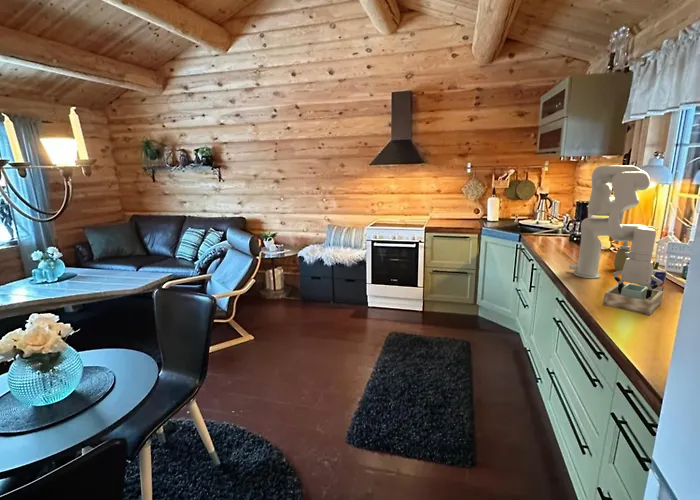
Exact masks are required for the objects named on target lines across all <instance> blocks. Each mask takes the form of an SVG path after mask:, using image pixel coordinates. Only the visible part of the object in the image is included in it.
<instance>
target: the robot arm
mask: <svg viewBox="0 0 700 500" xmlns="http://www.w3.org/2000/svg"><path fill="white" fill-rule="evenodd" d="M650 184H651V178H650V176H649V174H648V173H647V172H646V171H645V170H642V169H640V168H639V167H637V166H635V165H622V164H621V165H616V164H614V165H599V166H596V167H595V169H594V170H593V171H592V174H591V186H592V187H591V191H590V192H591V193H590V197H589V202H588V206H587V211H588V213H589V215H591V216H597V217H586V218H584V219H583V220H581V223H580V233H581V234H580V243H579V244H580V245H579V253H578V259H577V260H578V261H577V265H573V264H569V266H568V268H569V269H570V270H573V275H574V276H576V277H579V278H584V279H599V278H601V274H600V273H599V270H598V269H599V264H600V259H601V252H602V251H601V250H602V242H601V240H600V239H599V237H600V236H604V237H605V236H606V237H611V239H612V240H613V241H615V242H623V243H624V242H628V243H629V242H630V243H631V245H630V252H626V255H627V256H628V257H629V258H627V259H626V261H625V264H624V267H623V270H622V271H615V272H612V275H613V277H614V280H615V282H617V284H619V285H618V290H619V293H621V290H622V288H623V286H624V284H625V283H630V284H635V285H640V286H645V287H647V288H648V290H647V293H646V299H648V298H649V297H651V295H652V290H653V289H655V288H657V287H658V286H659V285H660V284H661V283H662V281H661V280H660V279H658V278H657V277H655V276H653V262H654V261H652V257H653V252H654V247H655V241H656V236H657V231H656V229H654V228H651V227H650V228H649V227H648V226H646V225H644V224H632V223H631V224H629V223H627V224H625V223H623V218H624V215H625V211H628V210H630V209H632V208H635V207H636V206H638V205H639V204H640V200H639V199H640V198H639V195H638V191H645V190H647V189H648V188H649V187H650ZM612 192H613V196H614V197H613V196H612V197H611V195H612ZM598 216H600V217H598ZM601 216H602V217H601ZM603 216H604V217H603ZM622 223H623V224H622ZM619 275H621V277H619ZM652 279H653V280H654V281H656V282H657V283H656V284H655V285H652V284H651V282H652Z"/></svg>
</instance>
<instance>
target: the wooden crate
mask: <svg viewBox="0 0 700 500" xmlns="http://www.w3.org/2000/svg"><path fill="white" fill-rule="evenodd" d="M623 284H624V286H625V285H627V284H628V283H623ZM618 285H619V284H618V283H616V284H615V285H613V286H612V287H610V288H609V289H608V290H606V291H605V292H604V295H603V296H604V297H603V302H602V305H604V306H608V307H611V306H612V308H615V307H616V309H619V308H620V309H621V310H624V311H628V312H632V313H637V314H641V315H646V316H649V317H650V316H651V315H652V314H653V312H655V311H656V309H658V307H659V306H660V305H661V304H662V301H663V295H664V290H663V291H659V290H654V289H653V290H652V295H651V297H649V298H648V299H645V300H641V299H636V298H631V297H627V296H622V295H621V293H619V290H618ZM624 286H623V287H624ZM647 290H648V289H647Z"/></svg>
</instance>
